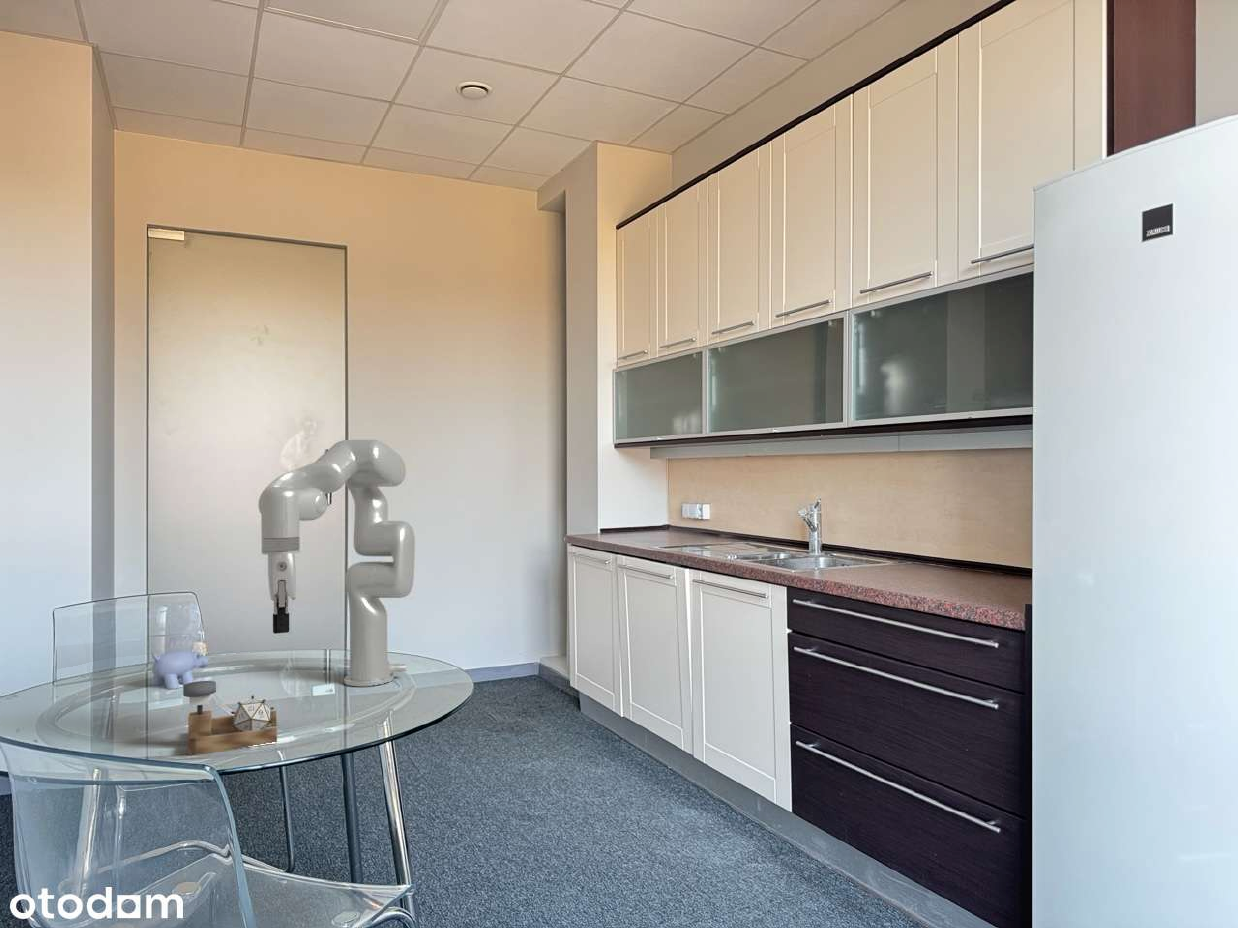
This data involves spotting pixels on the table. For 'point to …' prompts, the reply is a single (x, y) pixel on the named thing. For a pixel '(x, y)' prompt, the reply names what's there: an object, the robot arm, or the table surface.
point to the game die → (251, 715)
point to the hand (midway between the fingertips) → (281, 632)
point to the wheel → (199, 692)
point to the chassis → (205, 726)
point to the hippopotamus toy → (176, 668)
